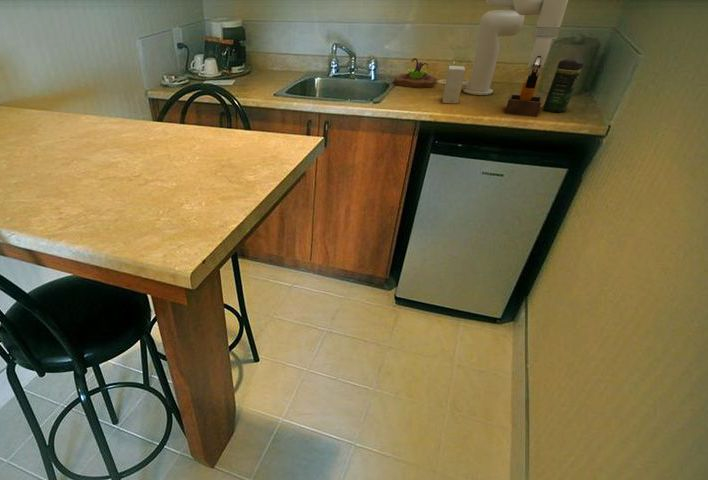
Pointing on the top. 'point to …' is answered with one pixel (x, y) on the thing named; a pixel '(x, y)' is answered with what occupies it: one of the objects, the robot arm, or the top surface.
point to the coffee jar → (563, 84)
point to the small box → (453, 84)
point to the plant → (415, 77)
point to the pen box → (523, 105)
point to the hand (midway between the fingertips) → (530, 85)
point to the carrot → (527, 92)
